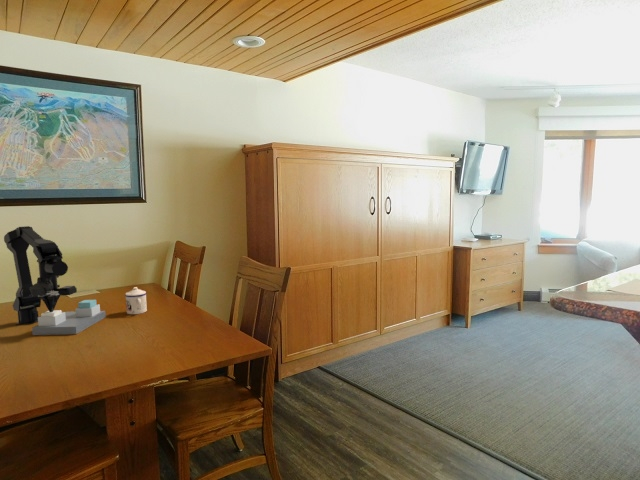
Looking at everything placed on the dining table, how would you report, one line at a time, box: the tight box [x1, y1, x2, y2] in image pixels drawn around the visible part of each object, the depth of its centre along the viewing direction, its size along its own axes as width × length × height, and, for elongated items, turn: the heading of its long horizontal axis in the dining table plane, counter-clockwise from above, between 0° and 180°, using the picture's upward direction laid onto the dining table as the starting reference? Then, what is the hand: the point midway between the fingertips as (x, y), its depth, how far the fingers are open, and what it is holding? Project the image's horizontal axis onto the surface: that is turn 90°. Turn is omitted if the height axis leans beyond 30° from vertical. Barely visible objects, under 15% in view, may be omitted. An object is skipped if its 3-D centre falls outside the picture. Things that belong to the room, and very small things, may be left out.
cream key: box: [40, 309, 63, 317], centre depth 168 cm, size 5×5×3 cm
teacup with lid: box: [124, 286, 148, 315], centre depth 192 cm, size 12×9×12 cm
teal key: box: [77, 299, 97, 308], centre depth 180 cm, size 5×5×3 cm
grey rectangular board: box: [31, 303, 107, 336], centre depth 175 cm, size 17×23×6 cm
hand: (51, 311), depth 168 cm, fingers closed, pressing on cream key
